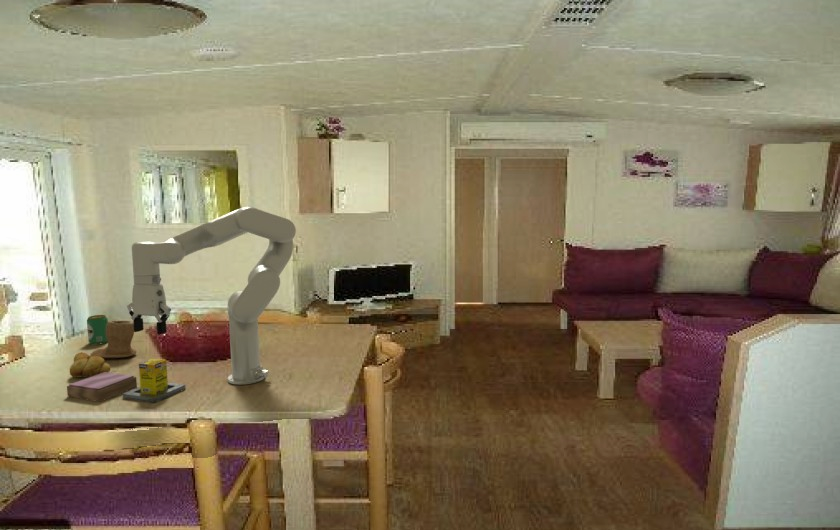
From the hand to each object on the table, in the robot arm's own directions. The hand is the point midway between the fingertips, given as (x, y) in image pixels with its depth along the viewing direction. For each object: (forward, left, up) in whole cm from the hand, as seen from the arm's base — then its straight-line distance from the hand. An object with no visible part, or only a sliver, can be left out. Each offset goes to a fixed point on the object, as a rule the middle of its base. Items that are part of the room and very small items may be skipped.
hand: (150, 332), depth 168 cm
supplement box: (0, 0, -21) cm, 21 cm away
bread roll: (+38, -7, -21) cm, 44 cm away
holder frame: (0, 0, -21) cm, 21 cm away
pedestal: (+18, +4, -21) cm, 27 cm away
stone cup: (+49, -28, -21) cm, 60 cm away
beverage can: (+76, -42, -21) cm, 89 cm away
